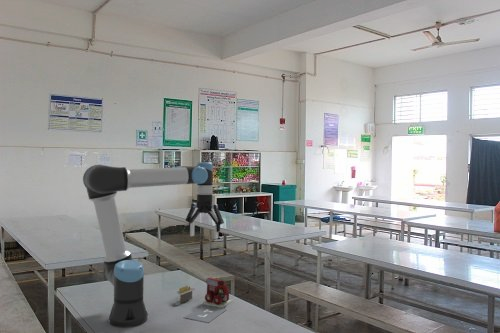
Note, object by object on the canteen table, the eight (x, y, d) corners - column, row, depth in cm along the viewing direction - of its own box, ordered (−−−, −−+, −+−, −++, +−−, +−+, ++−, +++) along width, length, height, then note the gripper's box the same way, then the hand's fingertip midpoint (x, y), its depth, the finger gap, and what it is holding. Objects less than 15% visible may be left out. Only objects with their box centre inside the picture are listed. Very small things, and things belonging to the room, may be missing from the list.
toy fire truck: (223, 306, 183) (223, 283, 183) (202, 301, 190) (202, 279, 190) (232, 302, 189) (232, 280, 189) (211, 297, 196) (211, 275, 196)
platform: (162, 303, 188) (162, 289, 188) (188, 293, 203) (188, 280, 203) (181, 309, 182) (181, 294, 182) (207, 298, 197) (207, 284, 197)
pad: (222, 307, 183) (222, 306, 183) (203, 304, 187) (203, 303, 187) (232, 301, 192) (232, 300, 192) (213, 297, 196) (213, 297, 196)
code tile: (208, 322, 166) (208, 322, 166) (183, 317, 171) (183, 317, 171) (226, 310, 180) (226, 309, 180) (203, 305, 185) (203, 305, 185)
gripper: (231, 194, 197) (230, 238, 197) (187, 192, 207) (186, 233, 207) (223, 195, 190) (223, 240, 190) (178, 193, 200) (178, 236, 200)
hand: (204, 237), depth 199 cm, fingers open, 13 cm apart
